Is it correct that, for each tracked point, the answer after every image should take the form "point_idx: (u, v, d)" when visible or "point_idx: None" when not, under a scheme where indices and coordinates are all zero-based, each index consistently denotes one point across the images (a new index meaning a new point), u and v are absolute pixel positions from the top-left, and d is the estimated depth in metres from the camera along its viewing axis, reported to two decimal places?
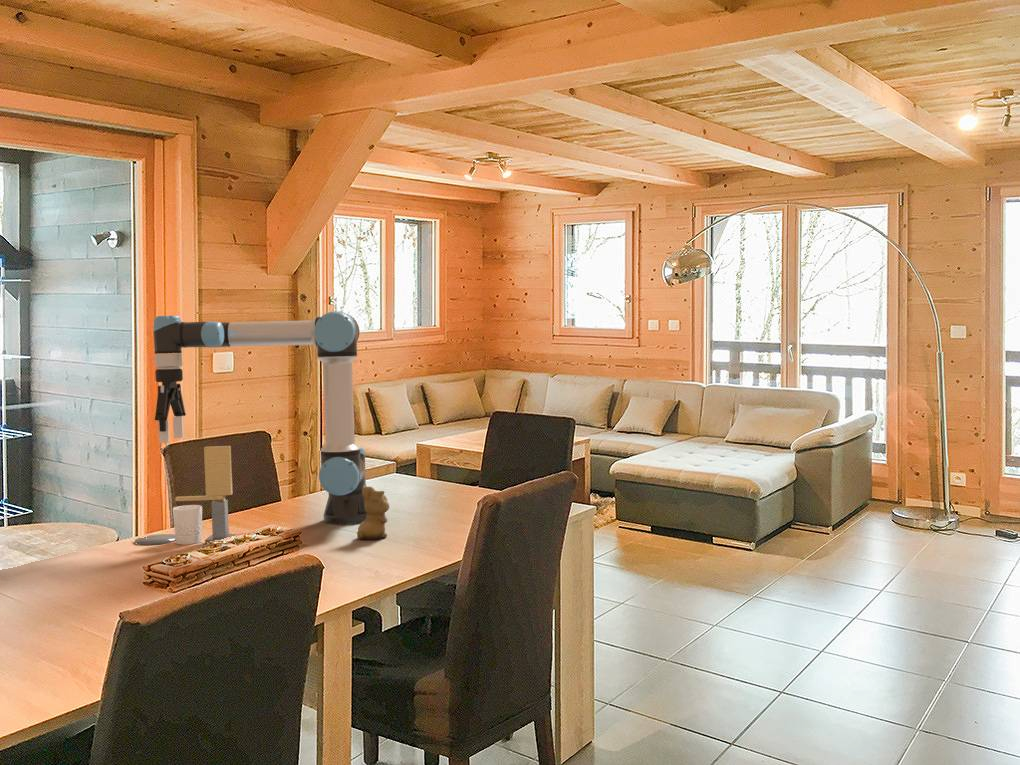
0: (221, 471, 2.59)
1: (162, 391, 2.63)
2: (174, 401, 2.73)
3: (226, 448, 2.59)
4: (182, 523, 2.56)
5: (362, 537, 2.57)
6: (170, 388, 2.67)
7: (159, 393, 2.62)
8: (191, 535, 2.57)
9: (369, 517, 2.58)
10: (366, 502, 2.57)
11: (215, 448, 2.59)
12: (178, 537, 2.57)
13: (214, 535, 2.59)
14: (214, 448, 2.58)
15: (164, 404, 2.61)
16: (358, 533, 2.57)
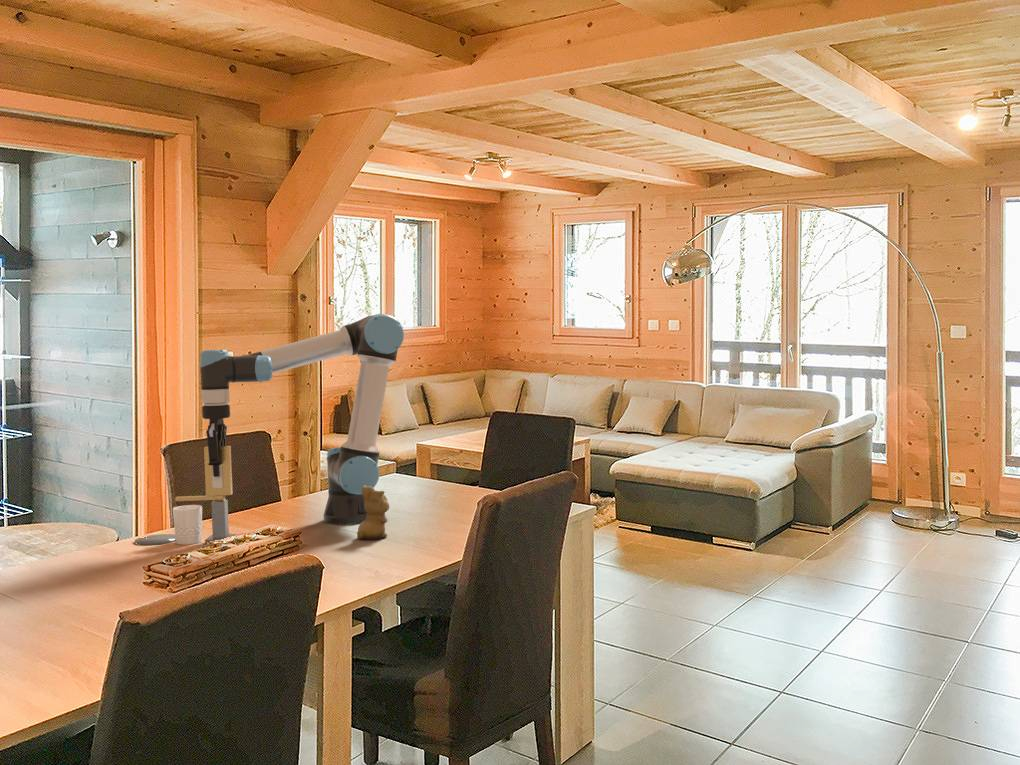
0: None
1: (211, 436, 2.54)
2: None
3: (226, 448, 2.59)
4: (182, 523, 2.56)
5: (362, 537, 2.57)
6: (217, 425, 2.56)
7: (209, 438, 2.54)
8: (191, 535, 2.57)
9: (369, 517, 2.58)
10: (366, 502, 2.57)
11: None
12: (178, 537, 2.57)
13: (214, 535, 2.59)
14: None
15: (216, 450, 2.54)
16: (358, 533, 2.57)
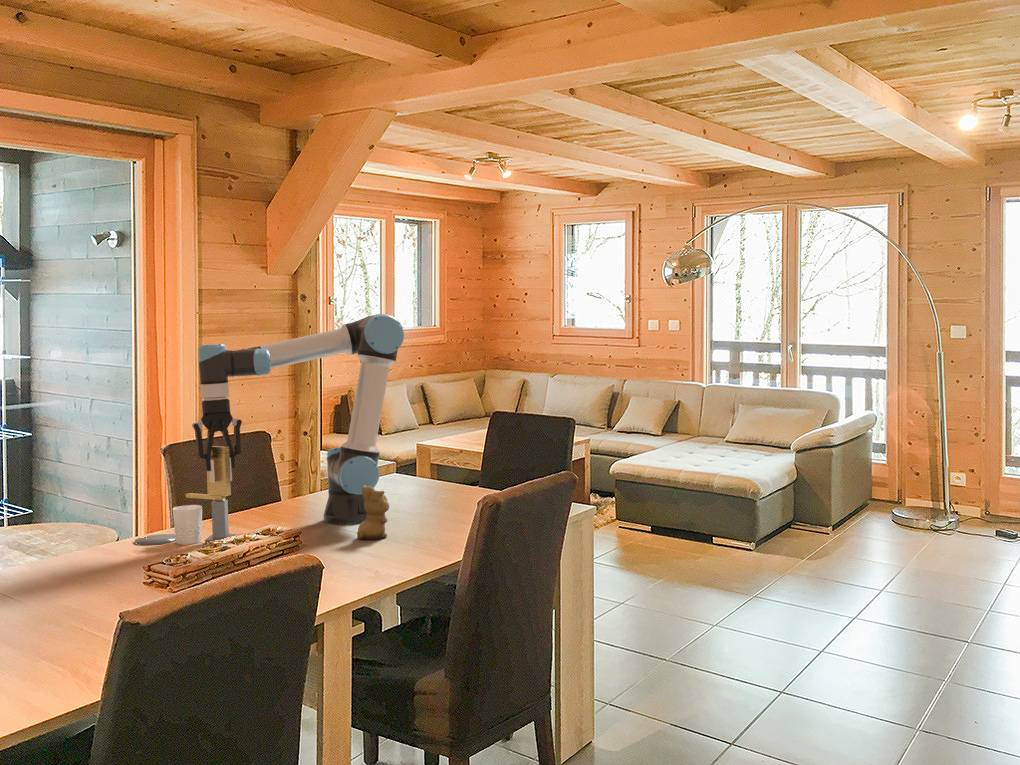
0: (218, 471, 2.58)
1: (195, 429, 2.56)
2: (223, 435, 2.60)
3: (222, 449, 2.57)
4: (182, 523, 2.56)
5: (362, 537, 2.57)
6: (207, 420, 2.56)
7: (195, 431, 2.57)
8: (191, 535, 2.57)
9: (369, 517, 2.58)
10: (366, 502, 2.57)
11: (214, 448, 2.59)
12: (178, 537, 2.57)
13: (214, 535, 2.59)
14: (213, 448, 2.59)
15: (198, 444, 2.55)
16: (358, 533, 2.57)
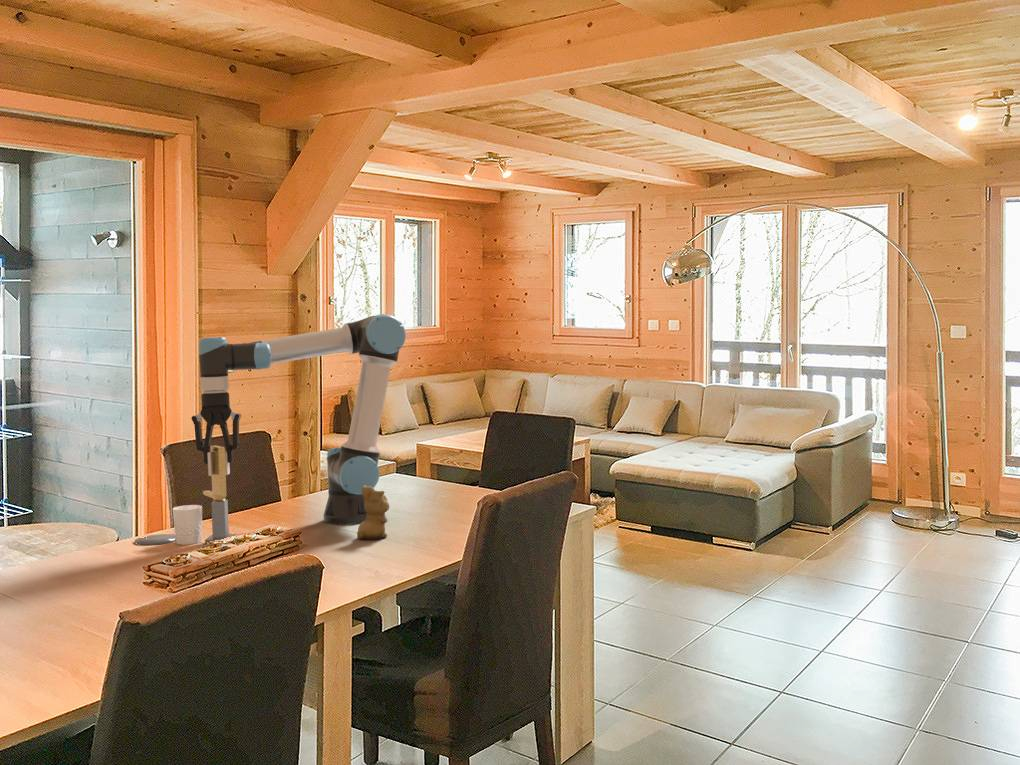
0: (216, 471, 2.58)
1: None
2: None
3: (217, 449, 2.57)
4: (182, 523, 2.56)
5: (362, 537, 2.57)
6: (205, 412, 2.57)
7: None
8: (191, 535, 2.57)
9: (369, 517, 2.58)
10: (366, 502, 2.57)
11: (213, 448, 2.59)
12: (178, 537, 2.57)
13: (214, 535, 2.59)
14: (213, 448, 2.59)
15: None
16: (358, 533, 2.57)
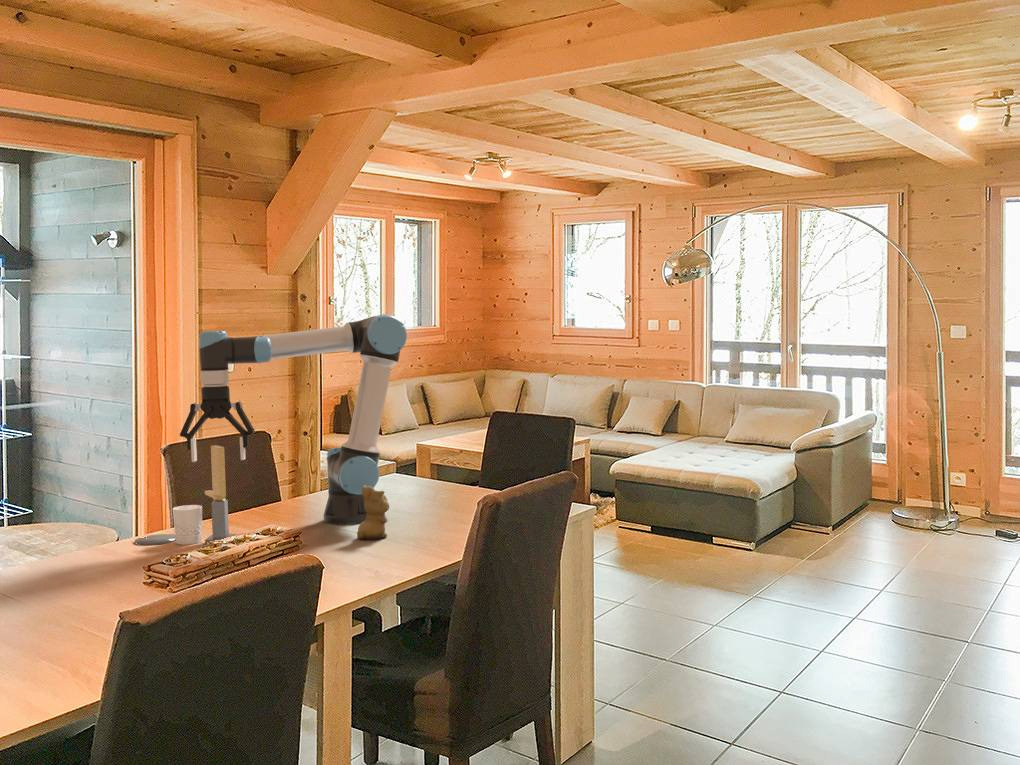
0: (216, 471, 2.58)
1: None
2: None
3: (216, 449, 2.57)
4: (182, 523, 2.56)
5: (362, 537, 2.57)
6: (205, 406, 2.58)
7: None
8: (191, 535, 2.57)
9: (369, 517, 2.58)
10: (366, 502, 2.57)
11: (213, 448, 2.59)
12: (178, 537, 2.57)
13: (214, 535, 2.59)
14: (213, 448, 2.59)
15: (185, 422, 2.58)
16: (358, 533, 2.57)
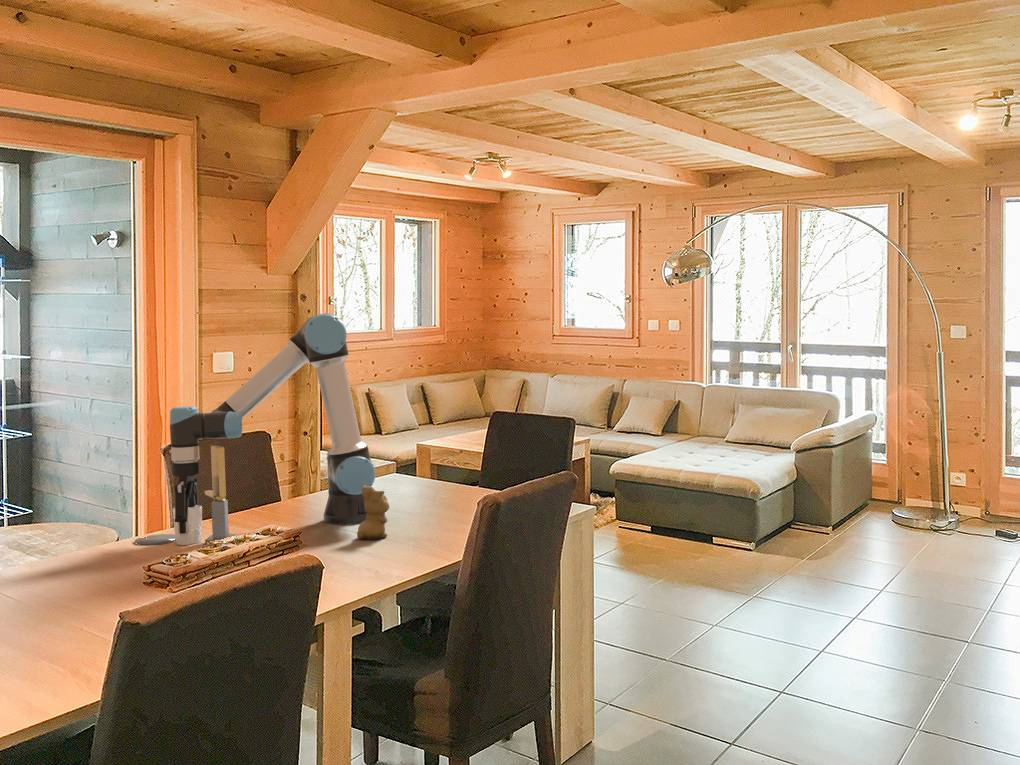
0: (216, 471, 2.58)
1: (179, 491, 2.53)
2: (189, 496, 2.62)
3: (216, 449, 2.57)
4: None
5: (362, 537, 2.57)
6: (187, 482, 2.57)
7: (177, 493, 2.53)
8: (191, 535, 2.57)
9: (369, 517, 2.58)
10: (366, 502, 2.57)
11: (213, 448, 2.59)
12: (178, 537, 2.57)
13: (214, 535, 2.59)
14: (213, 448, 2.59)
15: (183, 506, 2.53)
16: (358, 533, 2.57)
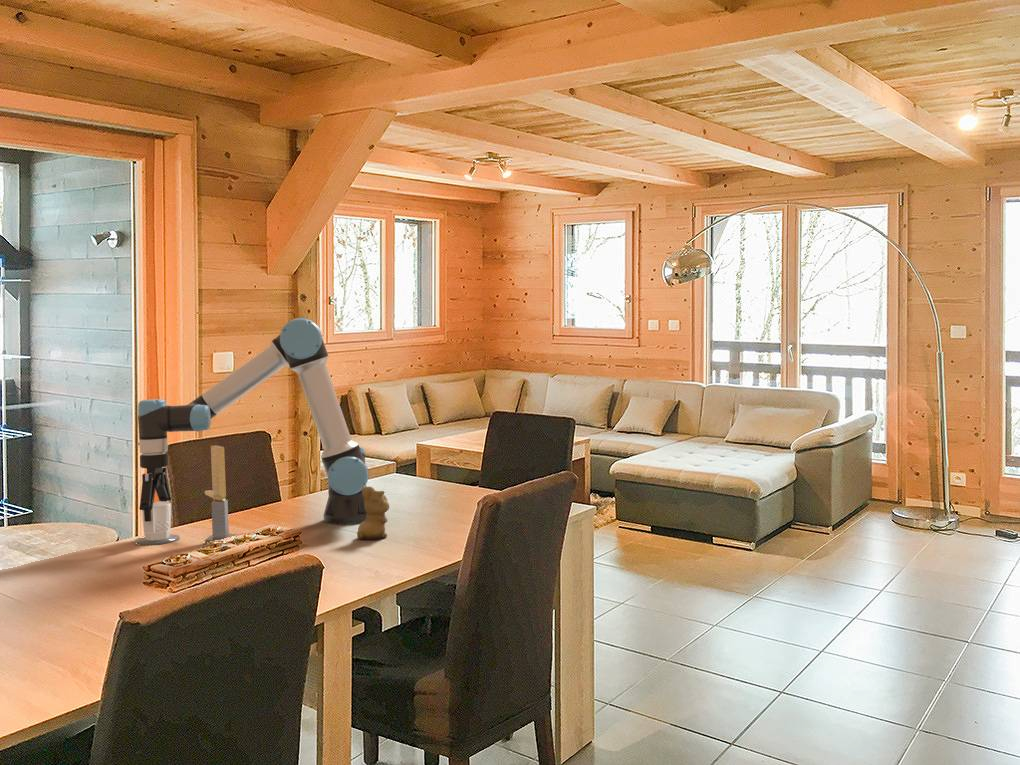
0: (216, 471, 2.58)
1: (147, 479, 2.56)
2: (159, 486, 2.66)
3: (216, 449, 2.57)
4: None
5: (362, 537, 2.57)
6: (155, 474, 2.60)
7: (143, 482, 2.56)
8: (159, 531, 2.60)
9: (369, 517, 2.58)
10: (366, 502, 2.57)
11: (213, 448, 2.59)
12: (146, 533, 2.60)
13: (214, 535, 2.59)
14: (213, 448, 2.59)
15: (149, 493, 2.55)
16: (358, 533, 2.57)
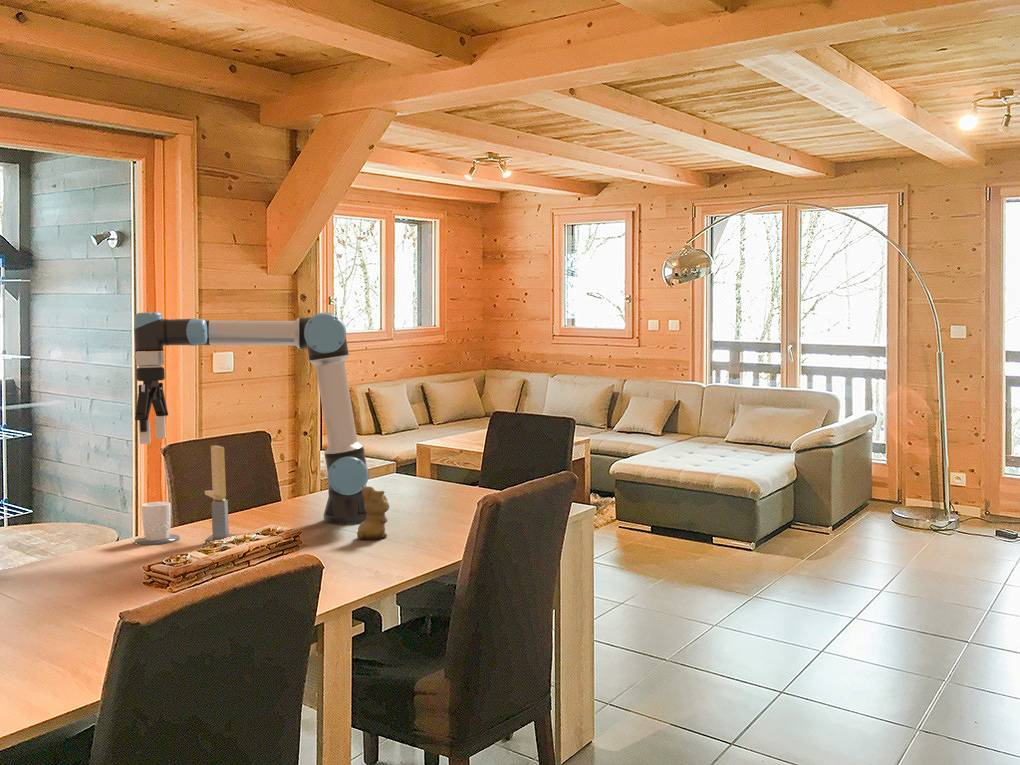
0: (216, 471, 2.58)
1: (143, 390, 2.55)
2: (156, 401, 2.65)
3: (216, 449, 2.57)
4: (150, 519, 2.59)
5: (362, 537, 2.57)
6: (151, 387, 2.59)
7: (140, 392, 2.55)
8: (159, 531, 2.60)
9: (369, 517, 2.58)
10: (366, 502, 2.57)
11: (213, 448, 2.59)
12: (146, 533, 2.60)
13: (214, 535, 2.59)
14: (213, 448, 2.59)
15: (145, 404, 2.53)
16: (358, 533, 2.57)
